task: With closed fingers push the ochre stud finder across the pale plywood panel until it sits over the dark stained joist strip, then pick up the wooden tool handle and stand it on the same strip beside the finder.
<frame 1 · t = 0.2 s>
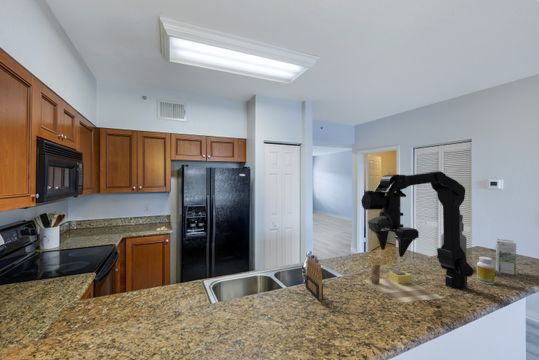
hand: (391, 253, 88), 14 cm above the countertop, tool pointing down, fingers open, 9 cm apart
syrup box: (505, 272, 111), on the countertop
plywood panel: (400, 291, 90), on the countertop
wooden tool handle: (375, 282, 94), point 1 cm above the countertop, touching plywood panel
water bottle: (453, 266, 118), on the countertop
supplement bottle: (485, 282, 99), on the countertop
ammunition clip: (313, 294, 87), on the countertop
stud finder: (399, 280, 97), point 1 cm above the countertop, touching plywood panel
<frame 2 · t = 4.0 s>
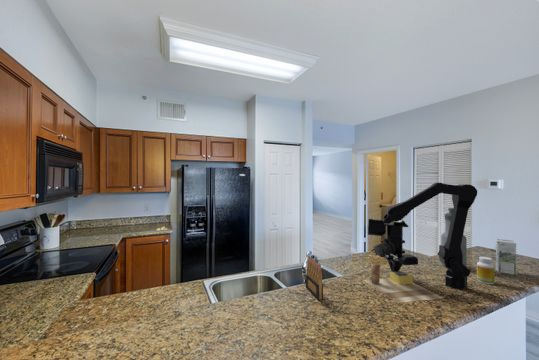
hand: (394, 275, 100), 2 cm above the countertop, tool pointing down, fingers closed
stud finder: (401, 281, 96), point 1 cm above the countertop, touching gripper, plywood panel
everything else where it was.
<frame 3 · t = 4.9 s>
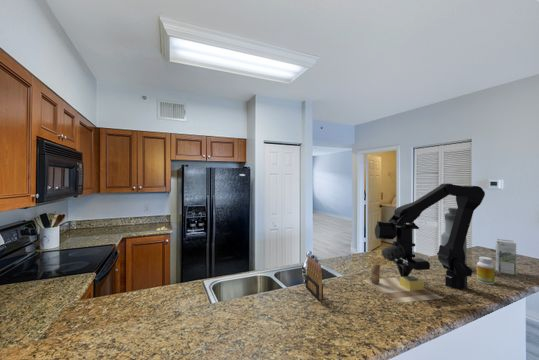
hand: (403, 280, 95), 2 cm above the countertop, tool pointing down, fingers closed
stud finder: (411, 287, 91), point 1 cm above the countertop, touching gripper
everything else where it was.
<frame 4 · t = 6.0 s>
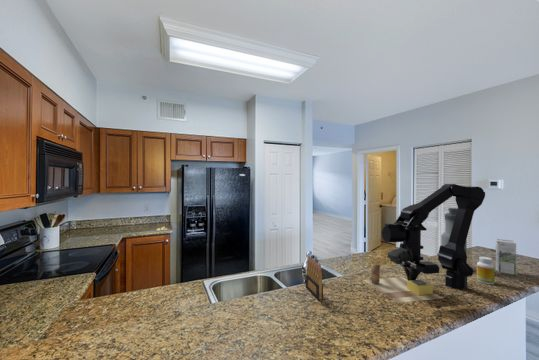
hand: (411, 284, 91), 2 cm above the countertop, tool pointing down, fingers closed
stud finder: (419, 291, 87), point 1 cm above the countertop, touching gripper
everything else where it was.
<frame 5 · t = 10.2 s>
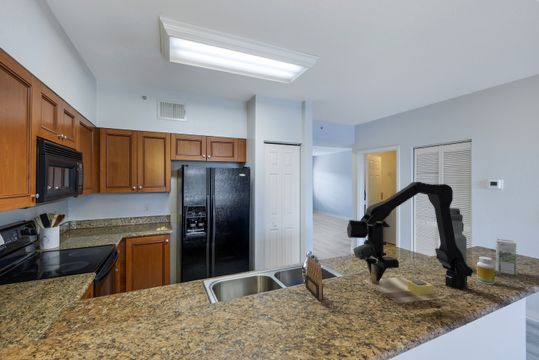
hand: (375, 278, 94), 3 cm above the countertop, tool pointing down, fingers closed on wooden tool handle, 3 cm apart
wooden tool handle: (375, 282, 94), point 1 cm above the countertop, touching gripper, plywood panel
stud finder: (419, 291, 87), point 1 cm above the countertop, touching plywood panel
everything else where it was.
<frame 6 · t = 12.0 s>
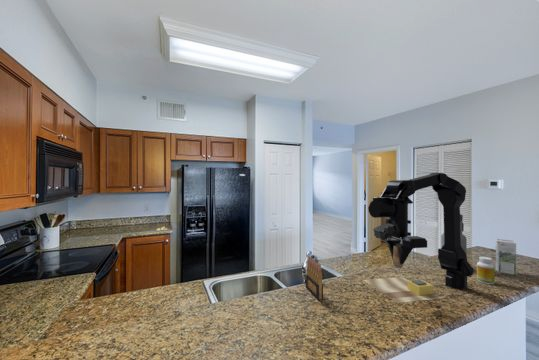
hand: (398, 262, 84), 12 cm above the countertop, tool pointing down, fingers closed on wooden tool handle, 3 cm apart
wooden tool handle: (398, 266, 84), point 11 cm above the countertop, touching gripper
everything else where it was.
when the fingers open (3 cm above the countertop, at t = 13.8 s): wooden tool handle stays where it is, resting on plywood panel.
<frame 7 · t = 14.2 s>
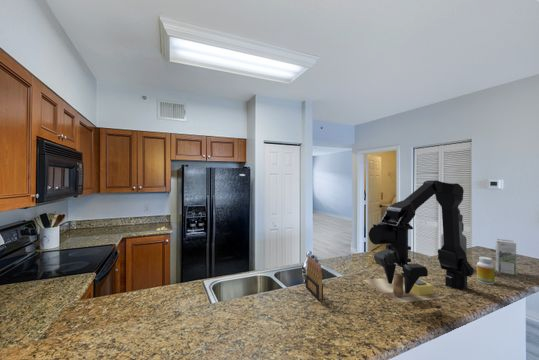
hand: (398, 288, 84), 3 cm above the countertop, tool pointing down, fingers open, 8 cm apart
wooden tool handle: (398, 295, 84), point 1 cm above the countertop, touching plywood panel
everything else where it was.
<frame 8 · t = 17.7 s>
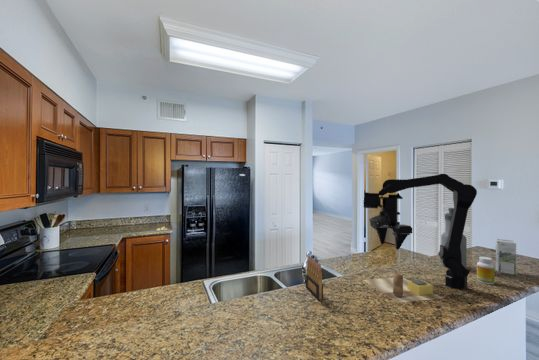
hand: (389, 246, 103), 13 cm above the countertop, tool pointing down, fingers open, 9 cm apart
nothing on the countertop moved.
at the end: stud finder inside the target area (0.9 cm from its centre), point 1.0 cm above the countertop; wooden tool handle inside the target area (0.3 cm from its centre), point 1.0 cm above the countertop; wooden tool handle tilted 1° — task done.
